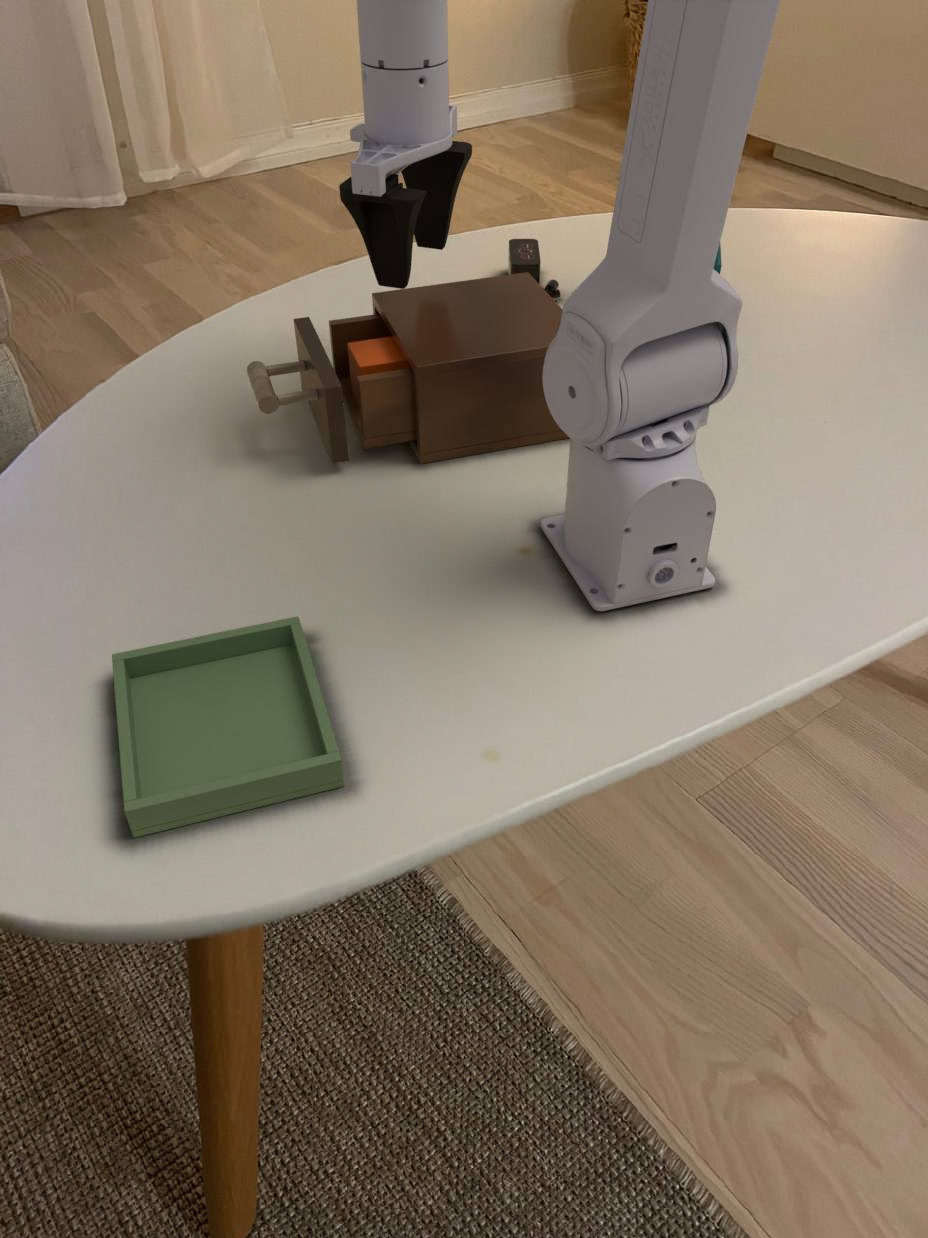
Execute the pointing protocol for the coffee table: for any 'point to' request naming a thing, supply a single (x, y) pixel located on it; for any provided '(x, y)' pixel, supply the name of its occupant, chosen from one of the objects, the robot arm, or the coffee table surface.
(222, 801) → the tray
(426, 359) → the cabinet
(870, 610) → the coffee table surface
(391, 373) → the drawer
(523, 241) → the wireless earbuds
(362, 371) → the matte orange cube
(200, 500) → the coffee table surface
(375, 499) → the coffee table surface
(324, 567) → the coffee table surface
